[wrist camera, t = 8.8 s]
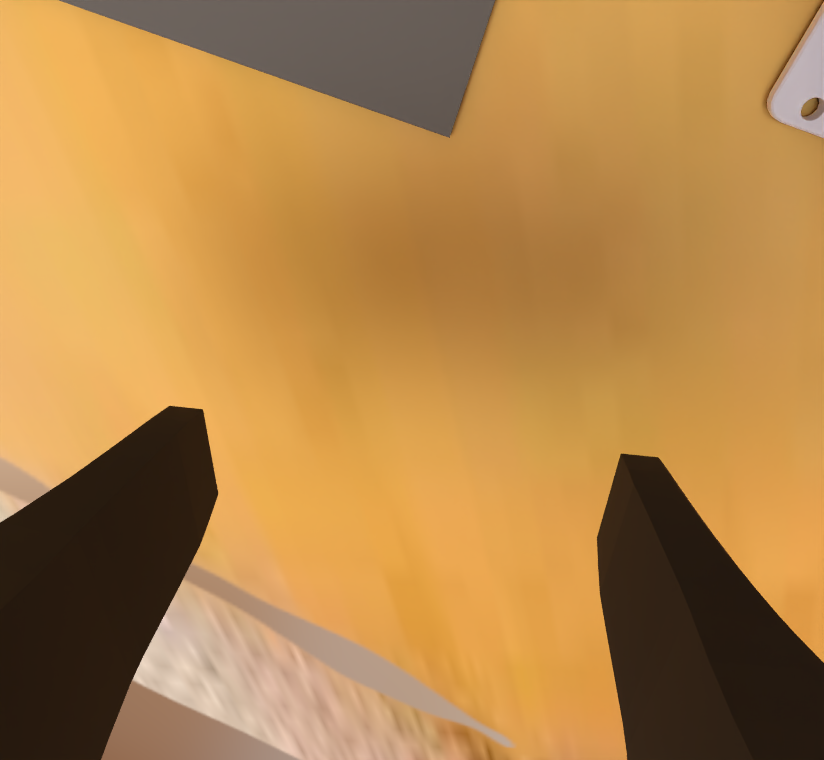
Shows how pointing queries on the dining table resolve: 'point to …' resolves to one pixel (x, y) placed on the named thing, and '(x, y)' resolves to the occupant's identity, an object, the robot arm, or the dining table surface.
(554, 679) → the dining table surface
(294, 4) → the mat
